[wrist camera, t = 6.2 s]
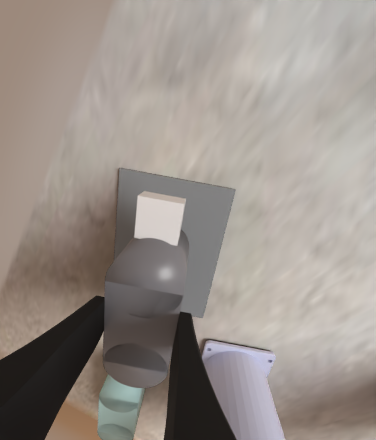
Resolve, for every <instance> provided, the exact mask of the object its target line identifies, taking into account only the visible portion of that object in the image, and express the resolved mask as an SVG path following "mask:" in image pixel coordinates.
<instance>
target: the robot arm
mask: <svg viewBox="0 0 376 440" xmlns="http://www.w3.org/2000/svg"><path fill="white" fill-rule="evenodd" d="M104 299H105V297H101V296H95V297H94V298H93V299H91V300H90V301H89V302H87V303H86V304H85V305H83V306H82V307H81V308H79V309H78V310H77V311H75V312H74V313H73V314H71V315H70V316H68V317H67V318H66V319H64V320H63V321H61V322H60V323H59V324H57V325H56V326H54V327H53V328H51V329H50V330H48V331H47V332H45V333H44V334H42V335H41V336H39V337H38V338H36V339H35V340H33V341H32V342H30V343H28V344H27V345H25V346H23V347H22V348H20V349H18V350H17V351H15V352H13V353H12V354H10V355H8V356H6V357H5V358H3V359H1V360H0V440H45V438H46V435H47V433H48V432H49V430H50V428H51V426H52V424H53V422H54V420H55V418H56V415H57V413H58V412H59V410H60V408H61V406H62V404H63V402H64V400H65V399H66V397H67V395H68V393H69V392H70V390H71V388H72V387H73V385H74V383H75V382H76V380H77V378H78V377H79V375H80V373H81V371H82V370H83V368H84V366H85V365H86V363H87V361H88V360H89V358H90V356H91V355H92V353H93V351H94V350H95V348H96V346H97V344H98V342H99V340H100V338H101V336H102V333H103V331H104V310H105V300H104ZM275 359H276V356H275V354H274V353H273V352H270V351H265V350H260V349H254V348H249V347H244V346H238V345H233V344H228V343H222V342H217V341H212V340H208V341H206V343H205V346H204V350H203V353H202V357H201V353H200V350H199V346H198V343H197V339H196V335H195V331H194V326H193V320H192V315H191V313H186V312H181V311H180V314H179V318H178V323H177V328H176V333H175V338H174V342H173V349H172V355H171V364H170V378H169V392H168V406H167V418H166V428H165V435H164V440H285V437H284V433H283V430H282V427H281V424H280V420H279V417H278V414H277V411H276V407H275V404H274V401H273V398H272V394H271V391H270V388H269V385H268V381H267V377H268V374H269V372H270V370H271V368H272V365H273V363H274V361H275Z"/></svg>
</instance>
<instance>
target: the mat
mask: <svg viewBox="0 0 376 440" xmlns="http://www.w3.org/2000/svg"><path fill="white" fill-rule="evenodd" d="M144 191H147V192H152V193H158V194H163V195H168V196H174V197H179V198H185V199H186V202H185V208H184V214H183V220H182V225H181V229H182V230H183V231H184V233H185V234H186V236H187V238H188V241H189V255H188V263H187V271H186V279H185V287H184V296H183V300H182V305H181V310H180V311H181V312H186V313H191V315H192V316H193V317H199V318H203V316H204V312H205V308H206V304H207V300H208V296H209V292H210V288H211V284H212V280H213V276H214V273H215V269H216V265H217V261H218V257H219V253H220V249H221V245H222V241H223V237H224V233H225V229H226V225H227V222H228V218H229V214H230V210H231V206H232V202H233V198H234V194H235V189H231V188H226V187H221V186H215V185H210V184H205V183H199V182H194V181H188V180H183V179H178V178H172V177H167V176H162V175H156V174H151V173H145V172H140V171H135V170H129V169H124V168H119V185H118V201H117V217H116V233H115V250H114V261H115V259H116V258H117V257H118V256H119V254H120V253H121V252H122V251H123V249H124V248H125V247H126V246H127V244H128V243H129V242H130V241H131V239H132V238H133V237H134V235H135V223H136V211H137V199H138V195H139V194H141V193H142V192H144Z"/></svg>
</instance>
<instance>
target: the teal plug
mask: <svg viewBox="0 0 376 440" xmlns="http://www.w3.org/2000/svg"><path fill="white" fill-rule="evenodd" d="M144 392H145V388H134V387H129V386H126V385H123V384H121V383H119V382H117V381H116V380H114V379H113V378H112V377H111V376H110V375H109V374H108V375H107V378H106V380H105V382H104V385H103V387H102V389H101V392H100V394H99V411H98V435H99V437H100V438H101V439H102V440H133V438H134V434H135V429H136V425H137V421H138V417H139V413H140V408H141V404H142V400H143V396H144Z"/></svg>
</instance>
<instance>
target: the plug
mask: <svg viewBox="0 0 376 440" xmlns="http://www.w3.org/2000/svg"><path fill="white" fill-rule="evenodd" d="M185 202H186V199H185V198H179V197H174V196H168V195H163V194H158V193H152V192H147V191H144V192H142V193H141V194H139V195H138V199H137V211H136V223H135V235H134V237H133V238H132V239H131V241H130V242H129V243H128V244H127V246H126V247H125V248H124V249H123V251H122V252H121V253H120V254H119V256H118V257H117V258H116V259H115V261H114V262H113V263H112V264H111V266H110V267H109V269H108V271H107V273H106V276H105V299H104V300H105V310H104V339H103V365H104V368H105V370H106V372H107V373H108V374H109V375H110V376H111V377H112V378H113V379H114V380H116V381H117V382H119V383H121V384H123V385H126V386H129V387H134V388H149V387H153V386H156V385H158V384H160V383H161V382H162V381H163V380H164V379H165V378H166V376H167V373H168V368H169V363H170V358H171V353H172V349H173V342H174V338H175V333H176V328H177V323H178V318H179V314H180V310H181V305H182V300H183V296H184V287H185V279H186V271H187V263H188V255H189V241H188V238H187V236H186V234H185V233H184V231H183V230H182V229H181V225H182V220H183V214H184V208H185Z"/></svg>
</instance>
